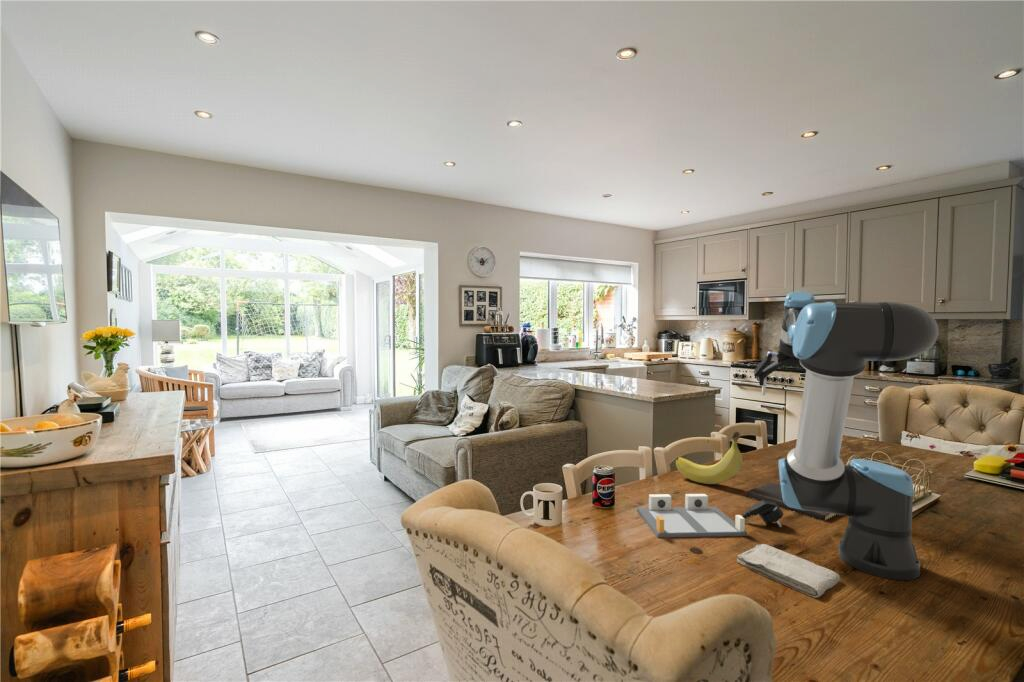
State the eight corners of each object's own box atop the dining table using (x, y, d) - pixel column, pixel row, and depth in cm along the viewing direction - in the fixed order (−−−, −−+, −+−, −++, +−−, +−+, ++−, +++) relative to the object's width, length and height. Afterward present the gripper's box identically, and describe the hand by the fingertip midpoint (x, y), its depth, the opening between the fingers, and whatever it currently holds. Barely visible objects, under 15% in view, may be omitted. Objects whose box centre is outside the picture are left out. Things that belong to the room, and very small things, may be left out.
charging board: (747, 535, 125) (747, 517, 125) (657, 537, 124) (657, 518, 123) (716, 510, 142) (716, 493, 142) (637, 511, 141) (637, 494, 140)
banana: (671, 478, 171) (672, 423, 170) (678, 474, 175) (679, 420, 174) (738, 493, 155) (739, 433, 155) (743, 489, 160) (745, 430, 159)
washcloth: (759, 551, 118) (759, 538, 118) (842, 583, 103) (843, 569, 103) (733, 565, 111) (734, 552, 111) (819, 602, 96) (819, 587, 96)
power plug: (731, 514, 137) (768, 493, 134) (746, 537, 136) (784, 516, 134) (736, 522, 131) (775, 500, 129) (752, 546, 131) (792, 524, 128)
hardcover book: (771, 488, 162) (771, 482, 162) (848, 510, 143) (848, 503, 143) (745, 498, 153) (746, 491, 153) (824, 523, 134) (825, 515, 134)
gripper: (840, 334, 144) (829, 389, 154) (748, 332, 153) (744, 384, 164) (845, 347, 138) (833, 404, 149) (749, 345, 147) (745, 398, 158)
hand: (786, 394), depth 156 cm, fingers open, 13 cm apart
